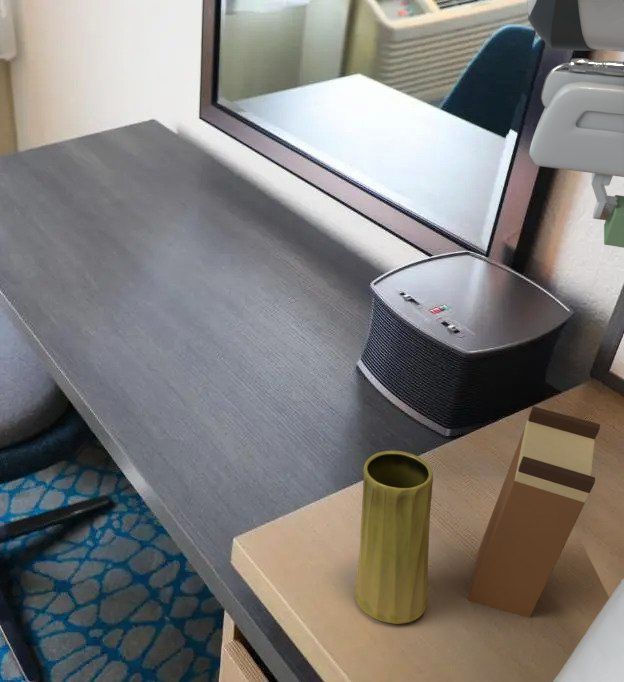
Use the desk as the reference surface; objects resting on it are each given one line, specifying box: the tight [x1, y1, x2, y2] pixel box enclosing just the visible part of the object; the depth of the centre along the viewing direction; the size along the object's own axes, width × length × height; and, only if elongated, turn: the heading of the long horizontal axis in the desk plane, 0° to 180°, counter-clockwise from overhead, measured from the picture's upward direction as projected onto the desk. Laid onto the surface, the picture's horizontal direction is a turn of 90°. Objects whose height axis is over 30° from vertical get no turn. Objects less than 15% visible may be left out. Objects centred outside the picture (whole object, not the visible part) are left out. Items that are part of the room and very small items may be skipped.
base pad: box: [467, 405, 601, 619], centre depth 65 cm, size 7×5×18 cm
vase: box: [353, 450, 434, 625], centre depth 66 cm, size 6×6×14 cm
